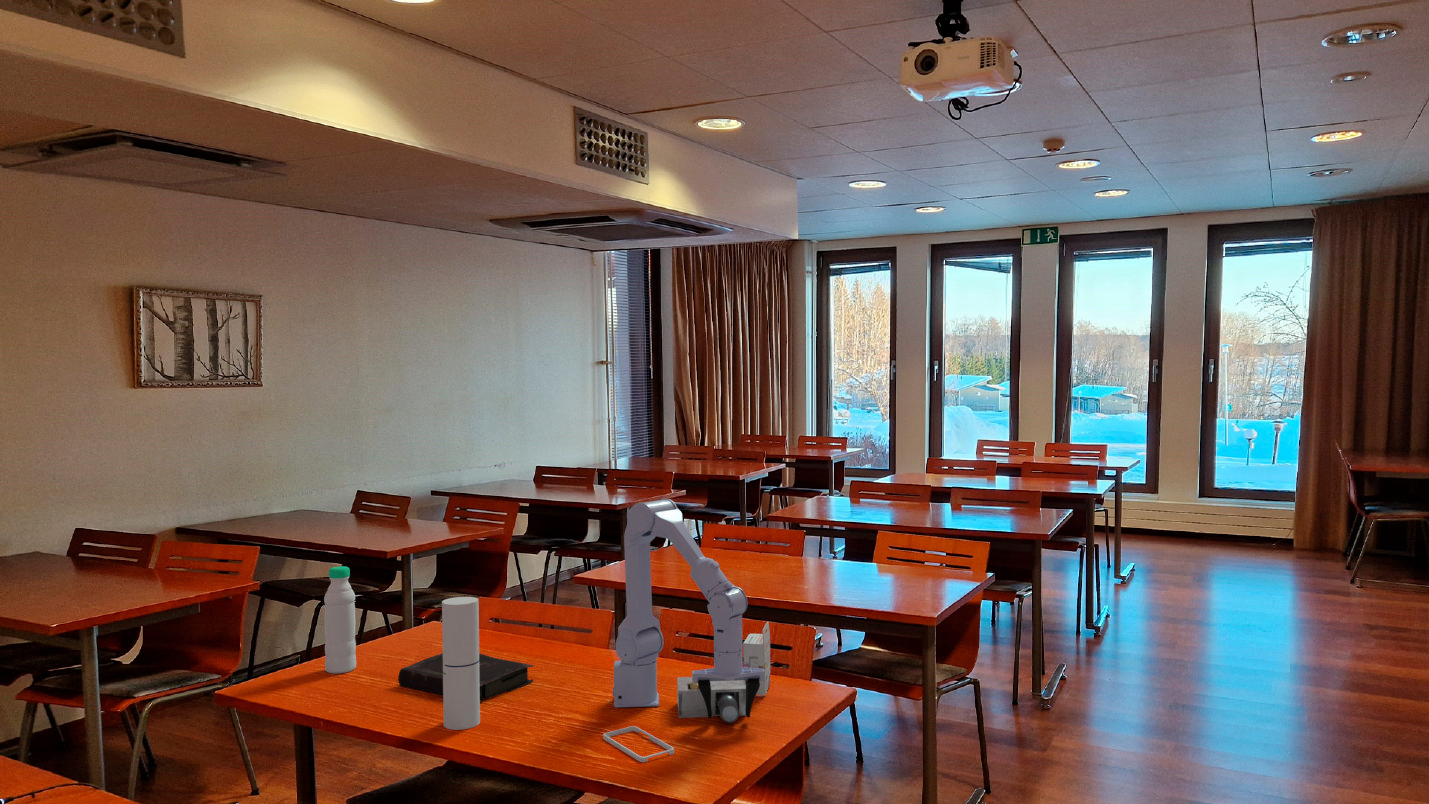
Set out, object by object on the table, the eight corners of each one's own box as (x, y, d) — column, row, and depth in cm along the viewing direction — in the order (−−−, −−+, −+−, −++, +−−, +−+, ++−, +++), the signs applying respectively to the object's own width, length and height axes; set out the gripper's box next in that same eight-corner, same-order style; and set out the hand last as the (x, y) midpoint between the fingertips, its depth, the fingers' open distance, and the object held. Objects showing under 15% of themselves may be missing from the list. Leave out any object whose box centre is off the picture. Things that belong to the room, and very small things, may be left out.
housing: (678, 717, 192) (678, 690, 192) (677, 703, 201) (677, 677, 201) (746, 715, 193) (746, 688, 193) (742, 701, 202) (742, 675, 202)
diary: (477, 708, 201) (476, 685, 201) (398, 690, 214) (397, 668, 214) (536, 683, 217) (535, 661, 217) (459, 667, 230) (458, 647, 230)
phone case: (601, 740, 181) (641, 765, 169) (601, 733, 181) (641, 758, 169) (634, 732, 186) (675, 755, 173) (634, 725, 186) (675, 748, 173)
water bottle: (362, 668, 228) (361, 566, 228) (337, 676, 222) (335, 571, 222) (344, 664, 232) (342, 563, 232) (318, 671, 226) (317, 568, 226)
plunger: (690, 694, 193) (690, 686, 193) (689, 690, 196) (689, 681, 196) (705, 694, 193) (704, 685, 193) (704, 689, 196) (704, 681, 196)
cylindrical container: (460, 732, 185) (459, 606, 185) (436, 725, 189) (434, 602, 188) (487, 721, 191) (485, 599, 191) (462, 715, 195) (461, 595, 195)
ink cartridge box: (749, 684, 214) (748, 619, 213) (770, 685, 213) (770, 620, 213) (743, 696, 205) (742, 629, 205) (765, 697, 204) (764, 630, 204)
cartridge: (720, 723, 186) (720, 704, 186) (716, 703, 198) (715, 685, 198) (739, 723, 186) (739, 704, 186) (733, 702, 199) (733, 684, 199)
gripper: (693, 655, 184) (693, 724, 184) (766, 653, 185) (767, 722, 185) (691, 646, 191) (692, 712, 191) (762, 644, 192) (762, 709, 192)
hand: (728, 716), depth 188 cm, fingers open, 7 cm apart
